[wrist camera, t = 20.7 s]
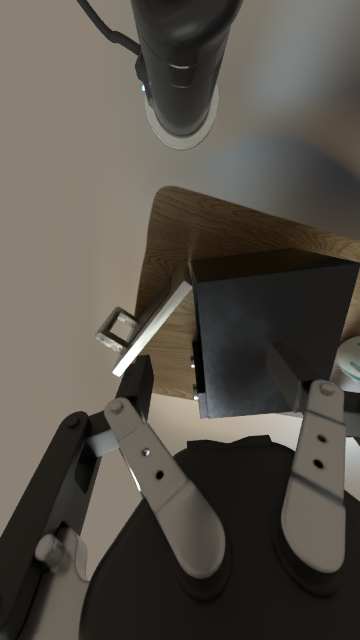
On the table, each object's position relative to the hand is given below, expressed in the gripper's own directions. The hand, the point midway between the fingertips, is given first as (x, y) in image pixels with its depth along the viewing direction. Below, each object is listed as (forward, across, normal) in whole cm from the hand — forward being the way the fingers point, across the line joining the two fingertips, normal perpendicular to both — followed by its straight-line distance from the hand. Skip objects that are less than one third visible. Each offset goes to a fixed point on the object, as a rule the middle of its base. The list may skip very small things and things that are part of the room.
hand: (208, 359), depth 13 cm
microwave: (+34, -10, +13) cm, 38 cm away
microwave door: (+34, +10, +5) cm, 36 cm away
